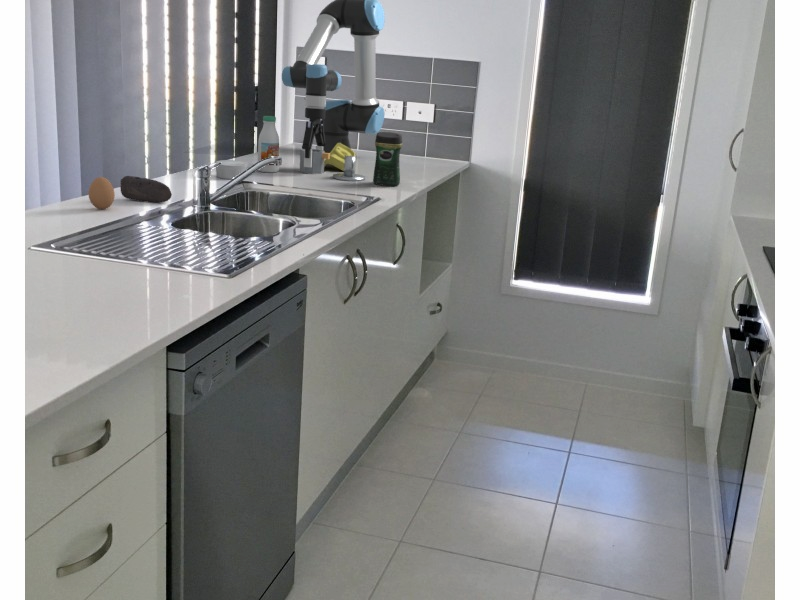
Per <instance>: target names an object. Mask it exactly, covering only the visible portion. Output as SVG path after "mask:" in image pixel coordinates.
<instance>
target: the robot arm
mask: <svg viewBox="0 0 800 600" xmlns="http://www.w3.org/2000/svg"><path fill="white" fill-rule="evenodd" d="M385 19H386V18H385V10H384V8H383V5H382V3H381V2H380V1H379V0H333V1H331V2H330V3H329V4H327V5H326V6H325V7H324V8H323V9H322V10H321V11H320V12H319V14H318V16H317V18H316V25H315V27H314V29H313V30H312V31H311V33H310V35H309V37H308V39H307V41H306V42H305V44H304V46H303V47H302V50H301V51H300V52H299V55H298V57H297V58H296V60H295V62H294V63H293V65H292V66H291V65H288V66H285V67H283V69H282V72H281V81H282V84H283V86H286V87H289V88H296V89H305V97H304V98H303V99H304V100H305V106H306V107H305V108H304V109H305V110H304V117H305V118H306V119H309V120H308V121H307V120H306V122H305V130H304V134H303V141H302V146H301V150H302V149H304V167H312V149H313V148H312V147H313V143H314V141H315V143H316V145H315V149H319V150H323V151H325V153H330V152H331V151H332V150H333V148H334V147H335V145H336V144H337V143H341V144H343V145H345V146H346V147H348V148H350V149H351V150H352V146H351V143H350V139H349V135H350V134H349V133H357V134H366V135H377V133H379V132H381V131H380V130H381V129H382V127H383V124H384V120H385V109H384V107H383V106H381V105H380V100H379V99H378V98H377V97H376V95H377V94H376V91H377V89H376V87H377V86H376V83H377V82H376V81H377V80H376V76H377V75H376V73H377V72H376V65H377V64H376V61H377V59H376V56H377V55H376V52H377V51H376V49H377V48H376V39H377V37H378V36H379V35H380V32H381V31H382V30H383V28H384V27H385V21H386V20H385ZM340 29H350V30H349V31H350V36H352V37H353V39H354V41H353V44H354V45H353V47H354V48H353V49H354V51H353V52H354V97H353V99H352V100H350V99H338V100H337V99H336V100H335V99H332V100H327V92H333V91H337V90H338V89H340V87H341V86H342V80H343V79H342V76H341V74H340V73H339V72H338V71H336V70H331V69H328V66H327V65H326V64H319V61H320V59H321V57H322V56H323V54H324V52H325V51H326V48H327V46H328V45H329V43H330V41H331V40H332V38H333V36H334V35H335V34H337V33H338V32H339V30H340ZM314 139H315V140H314Z"/></svg>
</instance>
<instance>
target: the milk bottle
mask: <svg viewBox="0 0 800 600" xmlns="http://www.w3.org/2000/svg"><path fill="white" fill-rule="evenodd" d="M262 123H263V124H262V125H263V126H262V128H261V131H260V133H259V136H258V142H257V145H258V146H257V162H258V161H260V160H262V159H265V158H268V157H271V156H279V157H280V137H279V134H278V131H277V128H276V124H277V117H276V116H274V115H263V117H262ZM279 167H280V166H276V165H274V164H269V165H266V166H265V167H263V168H261V169H260V170H258V169H257V171H259V172H263V173H278V172H279V169H280V168H279Z"/></svg>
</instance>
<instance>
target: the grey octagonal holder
mask: <svg viewBox="0 0 800 600" xmlns="http://www.w3.org/2000/svg"><path fill="white" fill-rule="evenodd" d="M311 149H312V167H304V149H302V148H301V149H300V154H299V155H300V156H299V172H300V173H303V174H311V175H312V174H313V175H314V174H315V175H316V174H318V175H319V174H323V173H324V172H325V167H324V161H325V159H330V153H325V151H323V150H319V149H316V148H311Z"/></svg>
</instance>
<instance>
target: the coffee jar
mask: <svg viewBox="0 0 800 600" xmlns="http://www.w3.org/2000/svg"><path fill="white" fill-rule="evenodd" d="M375 135H376V136H375V142H374V145H375V162H374V170H373V177H372V183H374V185H379V186H386V187H389V186H391V187H393V186H399V185H400V183H401V171H400V170H401V169H400V153H401V149H402V147H403V136H402V134H401V133H399V132H398V133H397V132H391V131H379V132H378V133H376V134H375Z"/></svg>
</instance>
